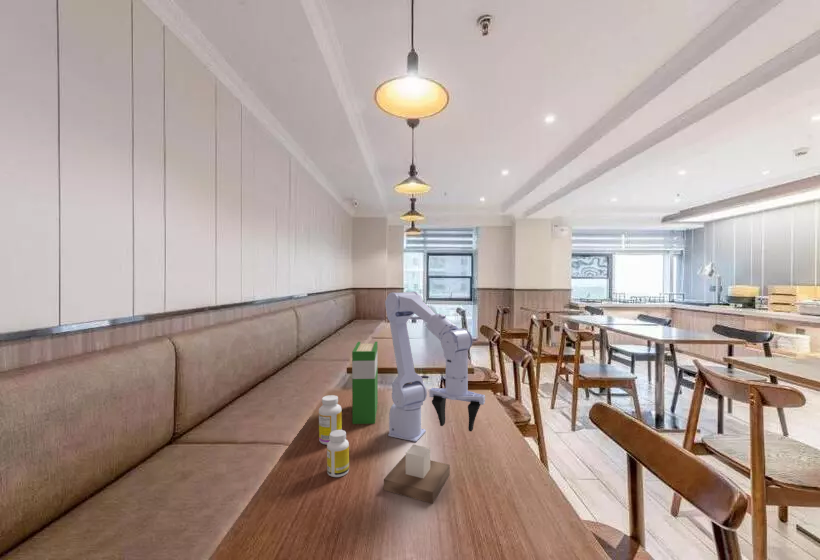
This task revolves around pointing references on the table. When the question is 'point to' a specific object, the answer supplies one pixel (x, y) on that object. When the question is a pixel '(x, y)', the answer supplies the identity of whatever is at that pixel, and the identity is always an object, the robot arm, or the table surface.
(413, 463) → the cream block
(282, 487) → the table surface
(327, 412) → the supplement bottle
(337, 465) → the supplement bottle
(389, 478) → the walnut block
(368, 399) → the hardback book
